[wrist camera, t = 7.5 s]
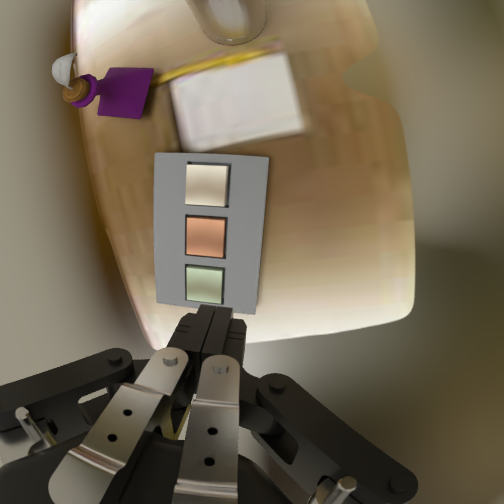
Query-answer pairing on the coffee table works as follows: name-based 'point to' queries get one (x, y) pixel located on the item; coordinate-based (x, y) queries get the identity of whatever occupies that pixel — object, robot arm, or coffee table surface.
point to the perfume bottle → (106, 88)
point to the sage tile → (205, 283)
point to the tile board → (236, 211)
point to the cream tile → (206, 185)
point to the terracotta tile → (206, 235)
